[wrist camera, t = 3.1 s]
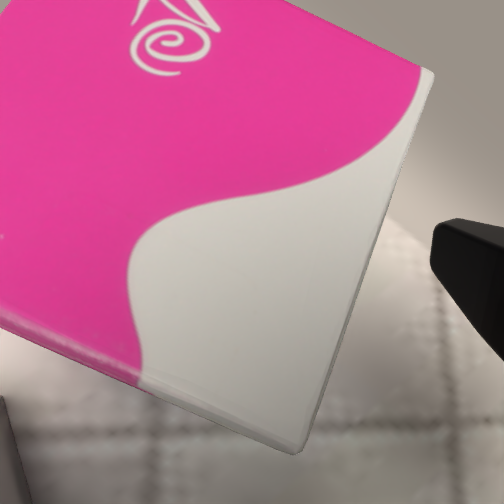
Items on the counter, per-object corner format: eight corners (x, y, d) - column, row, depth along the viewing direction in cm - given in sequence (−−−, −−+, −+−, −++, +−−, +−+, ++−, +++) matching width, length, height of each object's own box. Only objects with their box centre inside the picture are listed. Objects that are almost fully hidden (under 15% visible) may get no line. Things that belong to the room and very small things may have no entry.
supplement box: (280, 256, 17) (459, 69, 7) (213, 408, 16) (302, 501, 5) (140, 189, 17) (79, -123, 6) (56, 336, 16) (-224, 263, 5)
